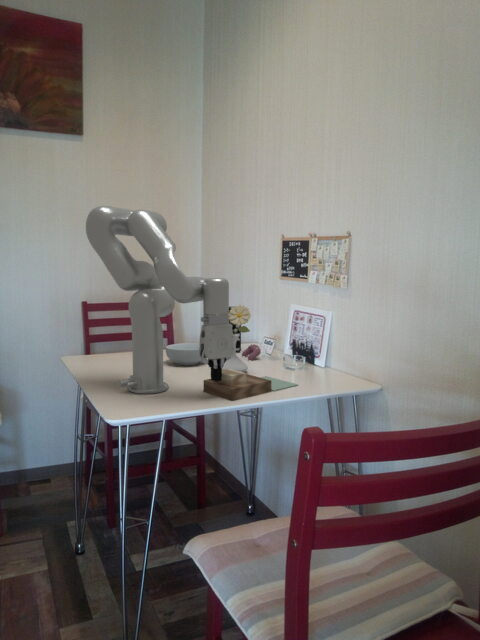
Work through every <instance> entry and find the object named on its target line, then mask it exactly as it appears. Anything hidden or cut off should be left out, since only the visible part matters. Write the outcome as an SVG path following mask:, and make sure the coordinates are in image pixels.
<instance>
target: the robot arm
mask: <svg viewBox="0 0 480 640" xmlns="http://www.w3.org/2000/svg"><path fill="white" fill-rule="evenodd" d="M167 228H168V225H167V220H166V219H165V217H164V216H163V215H162V214H160V213H159V212H157V211H154V210H153V211H152V210H147V209H137V210H135V209H126V208H121V207H116V206H109V205H100V206H96V207H95V208H93V209H91V211H89V213H88V215H87V217H86V221H85V233H86V238H87V240H88V242H89V244H90V245H91V248H93V250H94V252H95V253H96V254H97V256H98V257H99V259H100V260H101V261H102V263H103V265H104V266H105V268H106V270H107V271H108V272H109V275H110V276H111V277H112V279H113V280H114V282H115V283H116V285H117V286H118V287H119V289H121V290H123V291H126V292H134V293H133V294H132V295H131V297H130V299H129V301H128V313H129V314H128V315H129V318H130V323H131V341H132V349H131V350H132V375H129V378H127V379H124V380H123V379H122V380H118V387H119V388H123V387H127V390H128V391H129V392H130V391H131V393H133V392H134V394H139V395H140V394H143V395H145V394H147V395H149V394H159V393H162V392H163V393H164V392H165V391H167V390H169V386H170V385H169V384H168V382H166V381H164V330H163V326H162V322H161V319H160V318H163V317H166V316H169V315H171V313H172V312H173V311H174V309H175V306H176V305H175V304H176V302H177V303H180V304H189V303H197V302H203V303H202V304H203V308H202V311H203V312H202V313H203V315H202V316H201V317H200V321H201V322H202V325H201V326H200V327H201V328H200V332H199V333H200V335H199V343H198V344H199V352H200V357H201V361H200V363H202V364H207V365H208V368H210V379H211V380H213V381H216V382H218V381H222V368H223V366H224V363H225V362H226V361H227V360H229V359H231V356H232V355H233V354H234V340H233V331H232V327H231V324H229V307H230V304H229V303H230V295H229V294H230V285H229V284H230V283H229V281H228V279H227V278H224V277H209V278H207V277H202V276H201V277H200V276H186V274H185V272H184V271H183V270H182V269H181V268H180V267H179V265H178V263H177V262H176V258H175V252H176V251H177V250H176V249H177V246H176V244H175V242H174V241H173V239H171V237H170V235H168V233H167ZM116 235H117V236H125V237H127V236H128V237H133V238H135V240H136V241H137V242H138V244H139V245H140V246H141V247H142V249H143V250H144V251H145V253H146V254H147V255H148V256H149V258H150V260H151V261H152V262H153V264H151V263H150V262H148V261H145V260H137V259H135V258H134V257H133V256H132V254H131V253H130V251H128V248H127V246H126V245H125V244H124V243H123V242H122V241H121V240H120V239H119V238H118V237H117V236H116ZM135 291H136V292H135Z"/></svg>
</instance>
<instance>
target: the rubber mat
mask: <svg viewBox="0 0 480 640" xmlns="http://www.w3.org/2000/svg"><path fill="white" fill-rule="evenodd" d="M260 378H264V379H267V380H271V381H272V383H271V392H274V393H275V392H278V391H282V390H287V389H290V388H294V387H297V386H299V384H297V383H293V382H290V381H286V380H283V379H280V378H279V379H278V378H275V377H271V376H267V375H265V376H260Z"/></svg>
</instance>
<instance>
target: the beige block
mask: <svg viewBox="0 0 480 640" xmlns="http://www.w3.org/2000/svg"><path fill="white" fill-rule="evenodd" d="M246 374H247V373H246V372H240V371H236V370H232V369H225V370H222V381H218V382H220V383H223V384H226V385H230V386H234V385H238V384H243V383H246Z"/></svg>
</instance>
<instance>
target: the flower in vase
mask: <svg viewBox="0 0 480 640" xmlns="http://www.w3.org/2000/svg"><path fill="white" fill-rule="evenodd" d="M233 307H234V308H231V310H230V312H229V320H230V323H233V324H236V325H238V326H239V327H238V329H239V330H240V331H241V334H243V333H249V332H251V330H250V329H249V328H248V327H247V326H246V324H247V323H248V322H249V320H250V319H251V317H252V314H251V311H250V308H249V307H248V306H245V305H242V304H239V305H235V306H233ZM240 325H241V327H240ZM238 329H237V331H238ZM232 330H233V329H232ZM233 331H234V330H233ZM237 331H236V332H237ZM236 332H235V333H234V334H233V340H234V354H233V355H232V356H231V359H229V360H227V361H226V362H225V363H224V366H223V368H222V370H225V369H232V370H236V371H240V372H243V373H245V372H246V371H248V369H249V368H248V365H247V364H246V362H245V361H243V360H242V359H241V358H240V357H239V356H238V355H237V353H236V341H237V339H238V337H239V336H240V335H237V334H236Z"/></svg>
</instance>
